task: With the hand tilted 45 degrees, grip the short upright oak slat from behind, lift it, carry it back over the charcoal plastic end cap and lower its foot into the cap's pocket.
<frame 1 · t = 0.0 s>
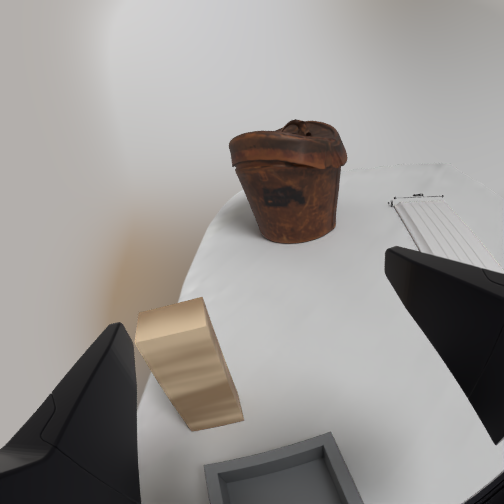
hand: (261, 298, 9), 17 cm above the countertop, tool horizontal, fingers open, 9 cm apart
baseboard: (444, 250, 39), on the countertop
brown tapered cylinder: (298, 226, 52), on the countertop
slat: (215, 412, 24), on the countertop
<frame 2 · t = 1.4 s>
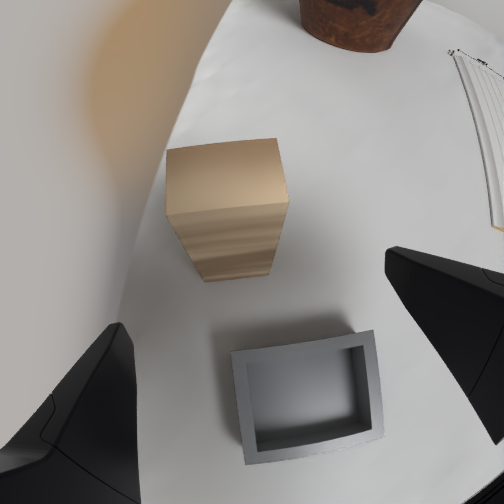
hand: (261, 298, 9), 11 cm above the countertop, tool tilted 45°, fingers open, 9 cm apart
baseboard: (495, 135, 28), on the countertop
end cap: (302, 393, 19), on the countertop
brown tapered cylinder: (346, 29, 32), on the countertop
slat: (234, 257, 22), on the countertop
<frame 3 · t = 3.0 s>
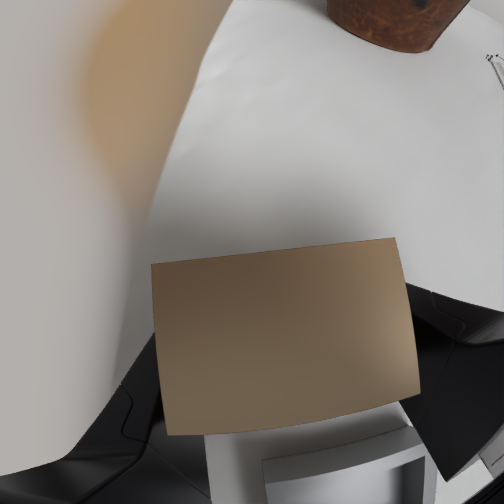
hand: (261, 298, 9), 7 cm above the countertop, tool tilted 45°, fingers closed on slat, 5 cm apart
end cap: (343, 495, 13), on the countertop
brown tapered cylinder: (379, 23, 26), on the countertop
slat: (262, 343, 15), on the countertop, touching gripper
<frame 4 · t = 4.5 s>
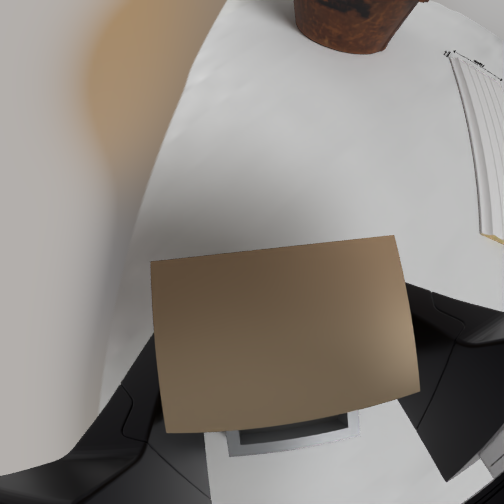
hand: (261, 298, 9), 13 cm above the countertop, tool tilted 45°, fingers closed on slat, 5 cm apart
baseboard: (488, 139, 29), on the countertop
end cap: (285, 391, 20), on the countertop
brown tapered cylinder: (341, 29, 33), on the countertop
slat: (262, 342, 15), point 6 cm above the countertop, touching gripper
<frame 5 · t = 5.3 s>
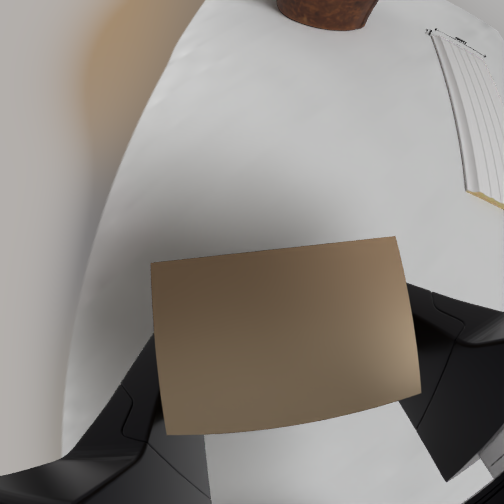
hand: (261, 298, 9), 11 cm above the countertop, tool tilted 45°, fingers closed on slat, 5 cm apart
baseboard: (472, 108, 29), on the countertop
brown tapered cylinder: (321, 11, 33), on the countertop
slat: (262, 343, 15), point 5 cm above the countertop, touching gripper
when the fingers open (9 cm above the countertop, at t = 6.1 s): slat drops 1 cm, resting on end cap.
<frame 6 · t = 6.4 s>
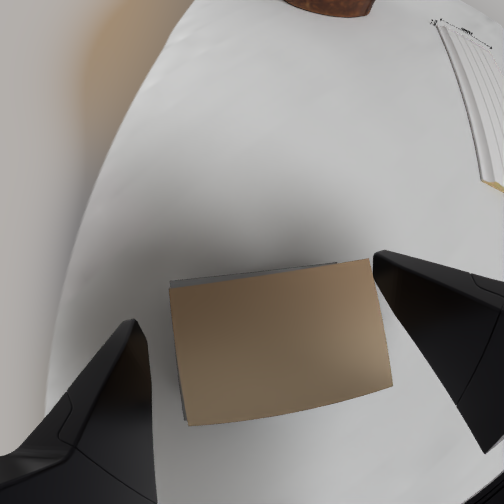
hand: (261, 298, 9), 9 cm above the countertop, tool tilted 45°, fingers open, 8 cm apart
baseboard: (481, 98, 27), on the countertop
end cap: (260, 343, 17), on the countertop
slat: (260, 345, 17), point 1 cm above the countertop, touching end cap
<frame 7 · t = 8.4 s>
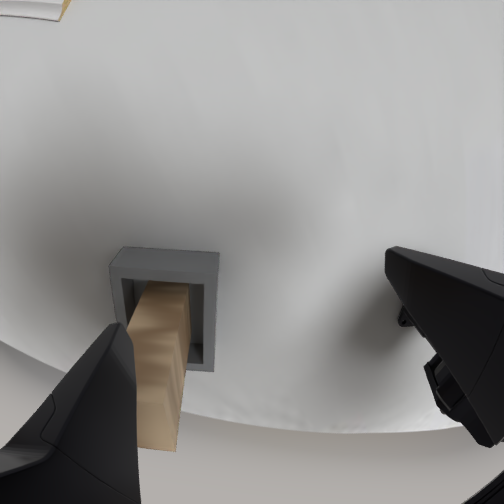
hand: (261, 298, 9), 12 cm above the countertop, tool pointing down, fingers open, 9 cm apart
end cap: (171, 300, 23), on the countertop
slat: (170, 306, 23), point 1 cm above the countertop, touching end cap
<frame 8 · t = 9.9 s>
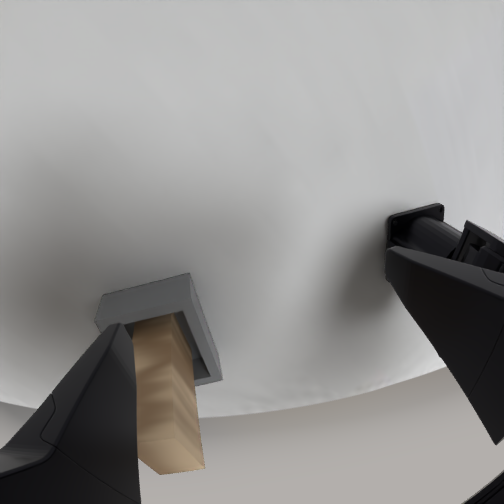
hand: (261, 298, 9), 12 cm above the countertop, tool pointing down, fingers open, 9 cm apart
end cap: (163, 327, 24), on the countertop
slat: (164, 334, 23), point 1 cm above the countertop, touching end cap
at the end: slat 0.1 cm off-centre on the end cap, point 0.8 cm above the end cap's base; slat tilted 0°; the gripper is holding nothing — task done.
